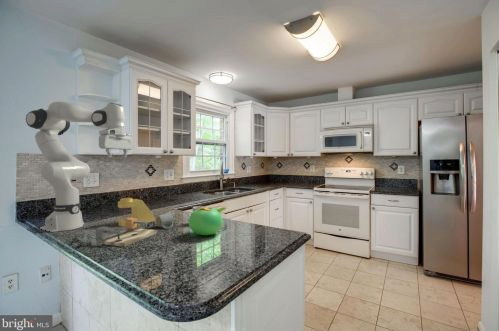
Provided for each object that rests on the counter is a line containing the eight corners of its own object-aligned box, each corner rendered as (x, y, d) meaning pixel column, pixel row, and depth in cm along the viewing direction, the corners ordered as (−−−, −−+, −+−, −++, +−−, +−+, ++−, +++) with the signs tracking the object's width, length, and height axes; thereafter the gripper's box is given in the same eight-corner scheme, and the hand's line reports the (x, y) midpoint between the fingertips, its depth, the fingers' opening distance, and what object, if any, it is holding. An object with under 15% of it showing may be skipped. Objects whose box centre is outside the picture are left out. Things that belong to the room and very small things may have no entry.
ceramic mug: (155, 226, 144) (155, 213, 144) (168, 224, 149) (168, 211, 149) (162, 230, 136) (162, 216, 136) (176, 227, 142) (176, 214, 141)
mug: (196, 226, 142) (196, 209, 142) (186, 225, 147) (186, 208, 146) (209, 222, 152) (209, 206, 152) (199, 221, 156) (199, 205, 156)
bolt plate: (104, 244, 113) (104, 240, 113) (138, 231, 134) (138, 228, 134) (124, 246, 110) (124, 243, 110) (157, 232, 131) (156, 229, 131)
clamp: (121, 227, 143) (121, 200, 143) (116, 224, 150) (115, 198, 149) (154, 221, 158) (154, 196, 158) (148, 218, 164) (147, 195, 164)
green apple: (182, 235, 125) (181, 207, 125) (204, 228, 140) (204, 202, 139) (209, 241, 116) (208, 210, 116) (230, 232, 130) (229, 205, 130)
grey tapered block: (90, 245, 112) (89, 230, 112) (132, 230, 137) (132, 217, 137) (110, 247, 108) (110, 232, 108) (150, 231, 133) (150, 219, 133)
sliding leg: (125, 228, 132) (125, 219, 132) (131, 226, 136) (131, 217, 136) (144, 230, 128) (143, 220, 128) (149, 228, 132) (149, 218, 132)
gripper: (126, 134, 146) (127, 157, 146) (96, 130, 126) (96, 157, 127) (135, 134, 144) (136, 157, 144) (105, 130, 124) (106, 157, 125)
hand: (117, 157), depth 135 cm, fingers open, 8 cm apart
